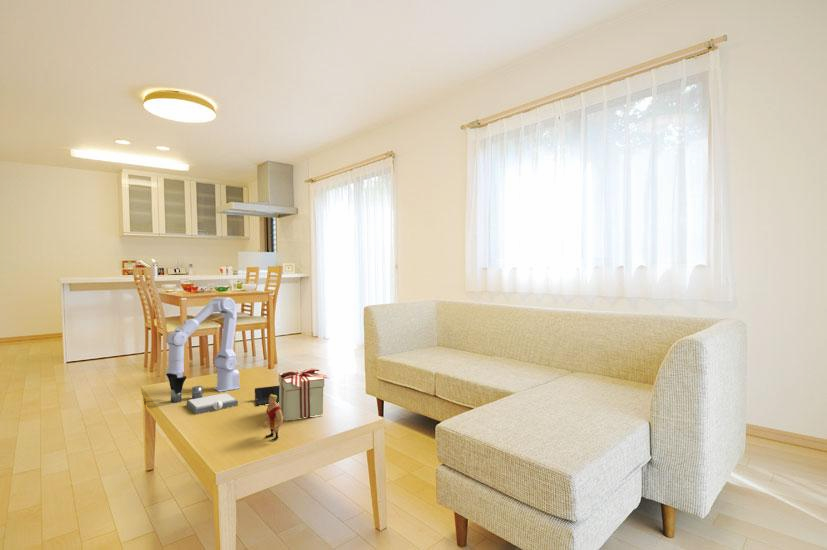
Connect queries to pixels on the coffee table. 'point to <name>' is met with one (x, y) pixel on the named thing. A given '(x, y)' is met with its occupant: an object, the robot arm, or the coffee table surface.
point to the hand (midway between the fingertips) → (175, 391)
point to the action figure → (273, 416)
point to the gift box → (301, 394)
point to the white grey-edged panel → (211, 403)
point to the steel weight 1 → (175, 397)
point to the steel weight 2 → (196, 392)
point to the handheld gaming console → (265, 394)
